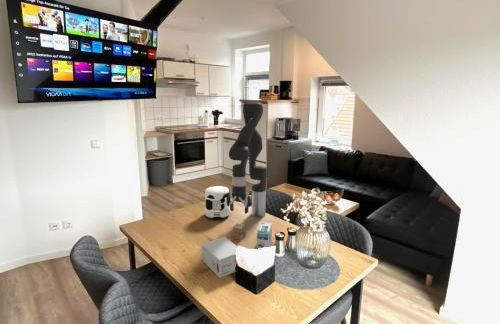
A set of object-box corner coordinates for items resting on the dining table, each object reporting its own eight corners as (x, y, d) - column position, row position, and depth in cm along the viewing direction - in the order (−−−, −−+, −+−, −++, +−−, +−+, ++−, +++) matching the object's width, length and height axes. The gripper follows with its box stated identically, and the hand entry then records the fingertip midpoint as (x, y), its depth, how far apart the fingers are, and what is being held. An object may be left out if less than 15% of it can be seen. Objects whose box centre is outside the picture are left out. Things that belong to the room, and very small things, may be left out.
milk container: (220, 208, 205) (219, 184, 201) (236, 216, 192) (235, 190, 188) (199, 215, 193) (198, 189, 189) (214, 223, 181) (213, 196, 177)
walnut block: (237, 234, 167) (237, 223, 166) (245, 236, 165) (245, 224, 164) (233, 238, 163) (233, 226, 161) (241, 240, 161) (241, 228, 159)
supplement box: (201, 261, 141) (201, 243, 139) (225, 252, 149) (224, 235, 146) (219, 278, 128) (219, 259, 126) (244, 268, 135) (244, 250, 133)
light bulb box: (269, 250, 150) (269, 231, 148) (256, 249, 152) (256, 230, 149) (272, 240, 160) (272, 222, 158) (260, 239, 162) (260, 221, 159)
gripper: (253, 183, 157) (253, 211, 161) (230, 180, 163) (230, 207, 166) (248, 187, 151) (248, 216, 154) (224, 183, 156) (224, 212, 160)
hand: (239, 211), depth 160 cm, fingers open, 8 cm apart
